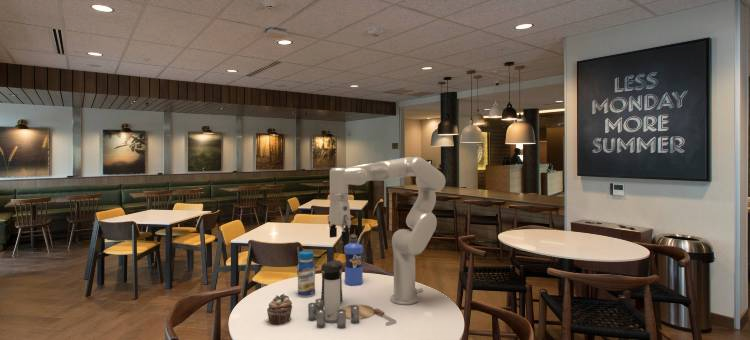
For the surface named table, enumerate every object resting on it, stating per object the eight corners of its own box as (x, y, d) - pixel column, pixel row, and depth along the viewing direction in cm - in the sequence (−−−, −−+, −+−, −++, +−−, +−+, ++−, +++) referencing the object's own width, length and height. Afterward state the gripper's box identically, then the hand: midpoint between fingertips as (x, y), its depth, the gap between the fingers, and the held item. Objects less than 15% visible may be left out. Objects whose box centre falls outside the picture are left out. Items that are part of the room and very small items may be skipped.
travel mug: (329, 324, 152) (329, 273, 152) (321, 319, 158) (321, 269, 157) (343, 320, 156) (343, 270, 155) (335, 315, 161) (334, 266, 161)
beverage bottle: (317, 291, 190) (317, 250, 190) (313, 297, 182) (312, 254, 181) (300, 291, 191) (299, 249, 190) (295, 297, 183) (294, 254, 182)
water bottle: (342, 281, 205) (341, 233, 205) (358, 279, 209) (358, 232, 208) (348, 287, 197) (348, 236, 196) (365, 284, 201) (365, 235, 200)
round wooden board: (361, 302, 175) (361, 302, 175) (382, 313, 163) (382, 312, 163) (331, 310, 166) (331, 309, 166) (351, 322, 154) (351, 321, 154)
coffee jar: (333, 308, 169) (333, 265, 168) (318, 305, 173) (317, 262, 172) (345, 301, 177) (345, 259, 177) (330, 298, 181) (330, 257, 181)
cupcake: (281, 314, 163) (281, 289, 163) (297, 320, 157) (296, 294, 157) (261, 321, 156) (261, 296, 156) (277, 328, 150) (276, 301, 149)
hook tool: (367, 314, 162) (367, 311, 162) (377, 312, 165) (377, 308, 165) (387, 325, 151) (387, 321, 151) (397, 322, 154) (397, 318, 154)
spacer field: (336, 308, 169) (336, 294, 169) (361, 322, 154) (361, 307, 154) (303, 317, 160) (302, 302, 160) (325, 333, 145) (325, 317, 144)
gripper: (358, 198, 159) (358, 241, 160) (336, 195, 173) (336, 234, 174) (341, 200, 155) (342, 243, 155) (320, 196, 169) (321, 236, 169)
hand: (339, 239), depth 164 cm, fingers open, 9 cm apart
